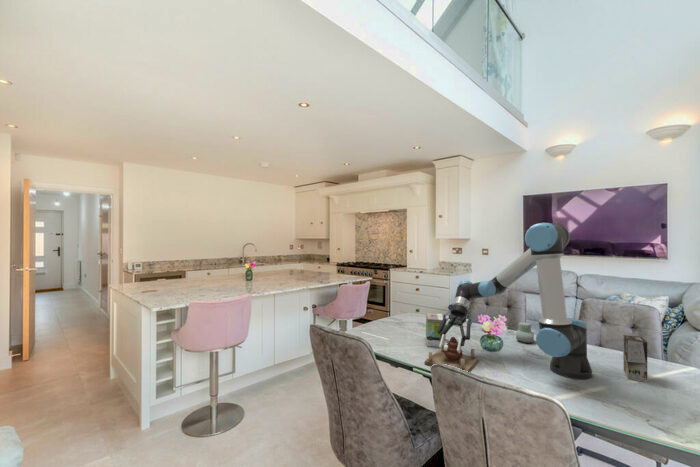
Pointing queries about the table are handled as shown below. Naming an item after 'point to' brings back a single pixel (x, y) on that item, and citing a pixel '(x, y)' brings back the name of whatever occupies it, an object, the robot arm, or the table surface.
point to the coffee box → (635, 358)
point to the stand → (463, 363)
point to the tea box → (433, 329)
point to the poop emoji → (452, 349)
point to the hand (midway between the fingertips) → (449, 349)
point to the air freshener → (525, 333)
